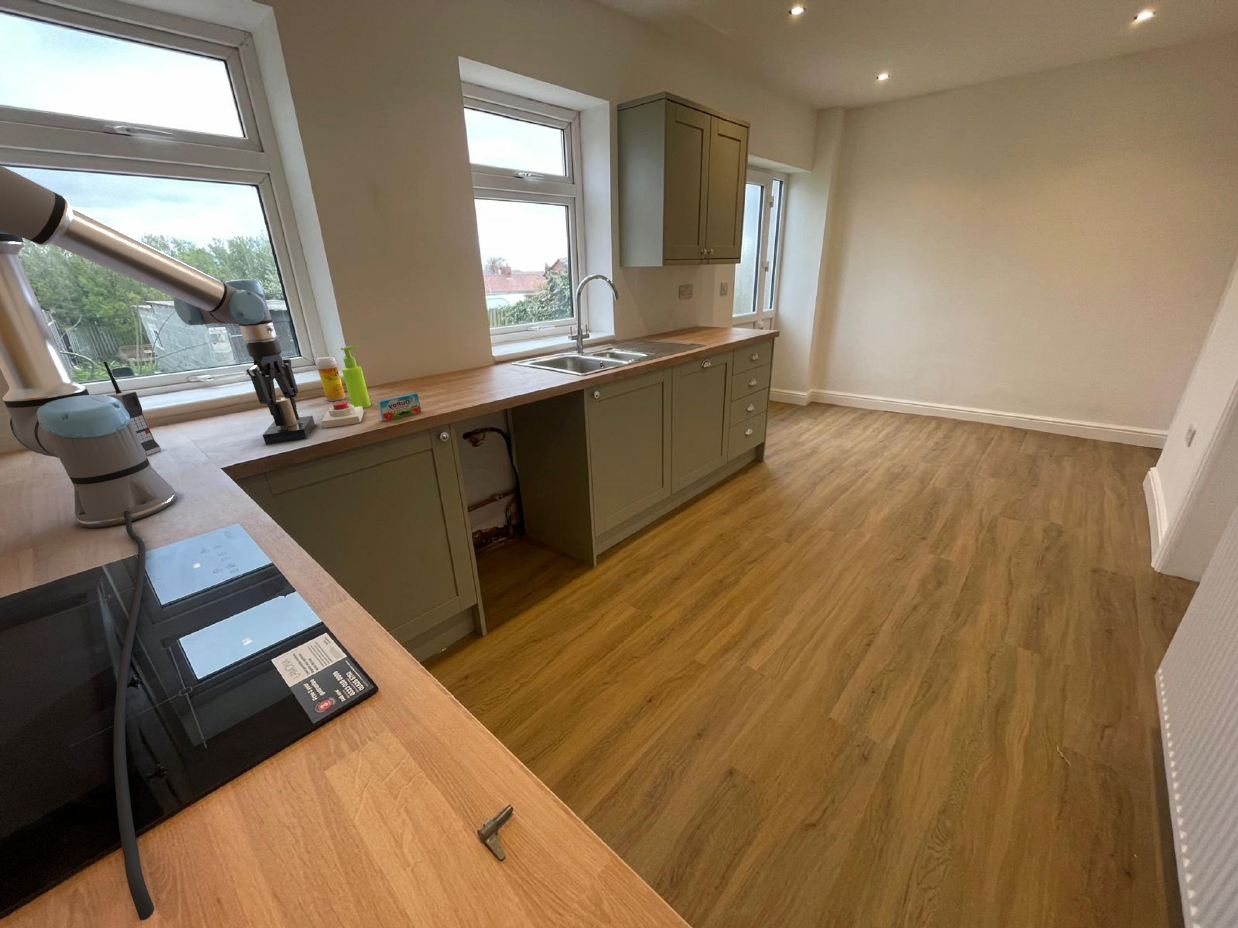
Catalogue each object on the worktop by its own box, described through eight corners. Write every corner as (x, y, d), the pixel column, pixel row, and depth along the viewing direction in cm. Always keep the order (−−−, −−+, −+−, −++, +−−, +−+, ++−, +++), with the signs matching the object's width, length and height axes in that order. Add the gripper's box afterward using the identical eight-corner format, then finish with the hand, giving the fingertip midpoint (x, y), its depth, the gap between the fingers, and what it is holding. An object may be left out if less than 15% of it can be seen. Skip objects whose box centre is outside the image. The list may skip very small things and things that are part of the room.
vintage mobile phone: (147, 455, 134) (105, 363, 124) (133, 455, 135) (90, 363, 125) (162, 450, 138) (122, 359, 128) (147, 449, 139) (107, 359, 129)
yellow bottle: (340, 401, 178) (328, 359, 172) (323, 402, 178) (311, 359, 172) (348, 396, 183) (337, 355, 177) (332, 397, 183) (321, 356, 177)
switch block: (360, 423, 153) (356, 410, 151) (323, 428, 150) (319, 415, 148) (363, 412, 163) (360, 400, 162) (329, 417, 160) (326, 405, 158)
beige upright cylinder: (300, 422, 146) (292, 396, 143) (290, 427, 142) (281, 400, 139) (287, 422, 147) (278, 396, 143) (276, 427, 143) (267, 400, 139)
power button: (347, 409, 154) (346, 404, 153) (333, 411, 153) (331, 406, 152) (349, 406, 157) (347, 401, 157) (335, 408, 156) (333, 402, 155)
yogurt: (384, 421, 153) (379, 402, 151) (382, 420, 154) (377, 401, 151) (421, 412, 161) (417, 393, 158) (419, 411, 162) (415, 392, 159)
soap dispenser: (377, 404, 172) (362, 345, 164) (358, 409, 166) (342, 349, 159) (367, 402, 175) (352, 344, 167) (348, 407, 169) (332, 348, 162)
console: (306, 439, 141) (303, 428, 140) (265, 445, 138) (262, 434, 137) (315, 424, 153) (312, 415, 152) (277, 430, 150) (274, 420, 149)
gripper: (247, 346, 126) (277, 433, 136) (297, 334, 142) (320, 413, 152) (221, 346, 127) (252, 433, 137) (273, 335, 143) (297, 413, 153)
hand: (288, 422), depth 144 cm, fingers closed on beige upright cylinder, 4 cm apart
